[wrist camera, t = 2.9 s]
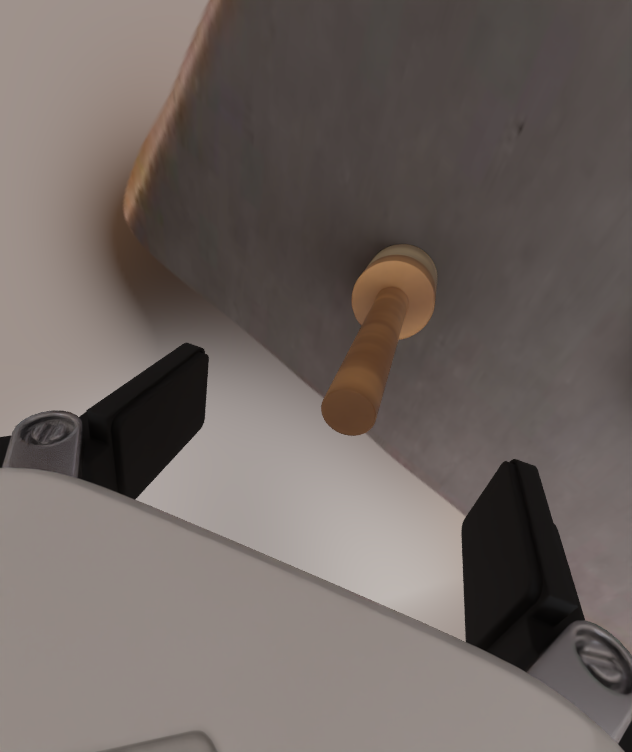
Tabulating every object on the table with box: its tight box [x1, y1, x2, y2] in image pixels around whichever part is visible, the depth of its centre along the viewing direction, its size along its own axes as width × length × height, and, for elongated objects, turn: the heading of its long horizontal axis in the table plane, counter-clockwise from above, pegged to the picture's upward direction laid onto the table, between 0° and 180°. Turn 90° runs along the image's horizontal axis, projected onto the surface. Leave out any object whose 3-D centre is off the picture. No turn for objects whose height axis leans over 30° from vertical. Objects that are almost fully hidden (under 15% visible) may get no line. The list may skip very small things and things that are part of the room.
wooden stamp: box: [321, 244, 437, 436], centre depth 18 cm, size 5×5×16 cm
